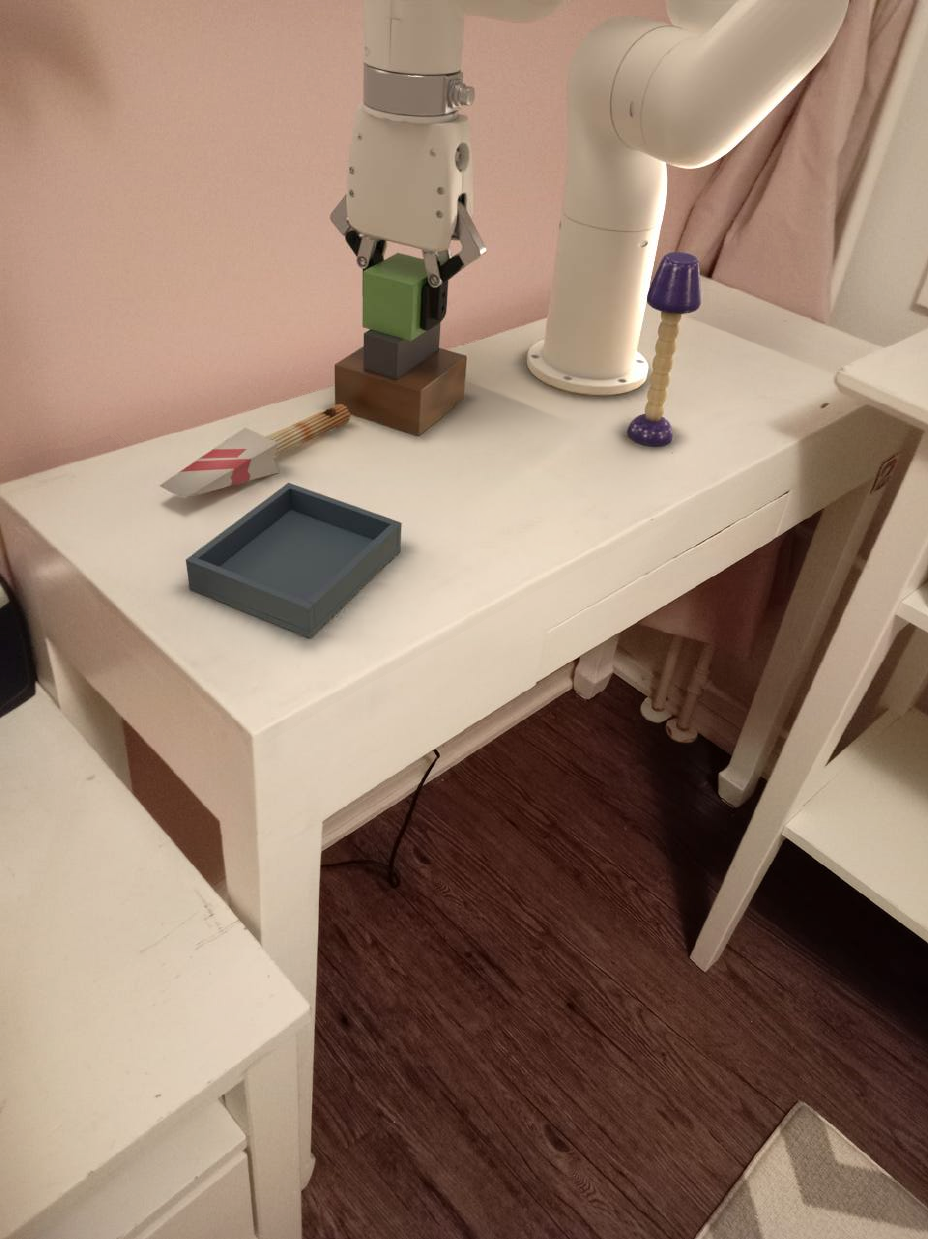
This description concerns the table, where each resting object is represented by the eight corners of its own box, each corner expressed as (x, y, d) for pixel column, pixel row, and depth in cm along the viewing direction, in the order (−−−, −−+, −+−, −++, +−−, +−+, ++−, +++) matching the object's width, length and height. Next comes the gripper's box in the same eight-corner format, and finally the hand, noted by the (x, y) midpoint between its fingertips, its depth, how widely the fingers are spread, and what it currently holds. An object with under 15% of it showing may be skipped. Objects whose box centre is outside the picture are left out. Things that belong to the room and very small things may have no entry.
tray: (289, 510, 78) (288, 482, 76) (400, 551, 74) (401, 522, 73) (189, 589, 69) (185, 559, 67) (310, 639, 66) (309, 609, 64)
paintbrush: (152, 466, 75) (328, 392, 89) (155, 497, 77) (327, 420, 91) (186, 484, 74) (360, 406, 87) (189, 515, 75) (359, 434, 89)
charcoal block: (407, 340, 94) (408, 305, 91) (439, 350, 93) (441, 314, 90) (363, 370, 88) (363, 333, 86) (396, 380, 87) (397, 343, 85)
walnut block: (384, 375, 98) (385, 332, 95) (463, 399, 95) (467, 355, 92) (334, 409, 91) (334, 364, 88) (418, 436, 89) (421, 390, 86)
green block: (396, 306, 91) (397, 252, 88) (443, 319, 89) (446, 264, 86) (362, 327, 87) (362, 271, 84) (411, 341, 85) (413, 284, 82)
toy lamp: (641, 451, 89) (679, 269, 79) (610, 428, 92) (643, 250, 82) (681, 441, 91) (724, 262, 81) (649, 419, 94) (687, 244, 84)
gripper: (530, 103, 76) (506, 327, 88) (344, 68, 82) (345, 283, 93) (488, 120, 71) (469, 356, 82) (292, 81, 76) (300, 308, 88)
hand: (403, 315), depth 88 cm, fingers closed on green block, 5 cm apart
